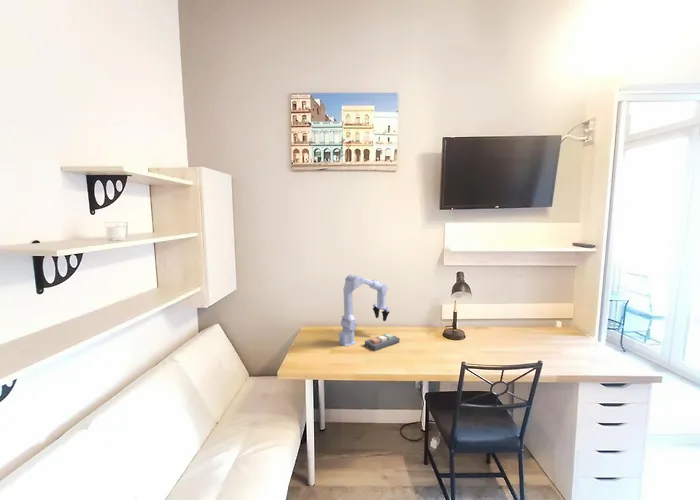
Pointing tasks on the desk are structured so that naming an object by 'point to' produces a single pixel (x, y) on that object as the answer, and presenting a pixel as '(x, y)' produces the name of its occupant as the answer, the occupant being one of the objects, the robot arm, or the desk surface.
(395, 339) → the keypad
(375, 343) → the terracotta key
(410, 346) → the desk surface
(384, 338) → the cream key
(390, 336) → the sage key
